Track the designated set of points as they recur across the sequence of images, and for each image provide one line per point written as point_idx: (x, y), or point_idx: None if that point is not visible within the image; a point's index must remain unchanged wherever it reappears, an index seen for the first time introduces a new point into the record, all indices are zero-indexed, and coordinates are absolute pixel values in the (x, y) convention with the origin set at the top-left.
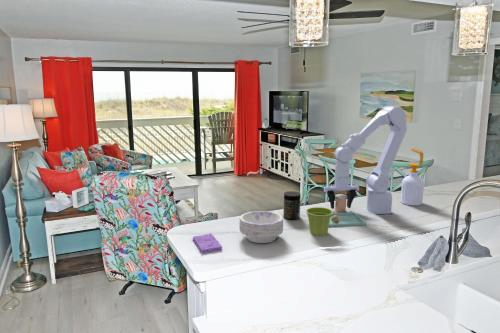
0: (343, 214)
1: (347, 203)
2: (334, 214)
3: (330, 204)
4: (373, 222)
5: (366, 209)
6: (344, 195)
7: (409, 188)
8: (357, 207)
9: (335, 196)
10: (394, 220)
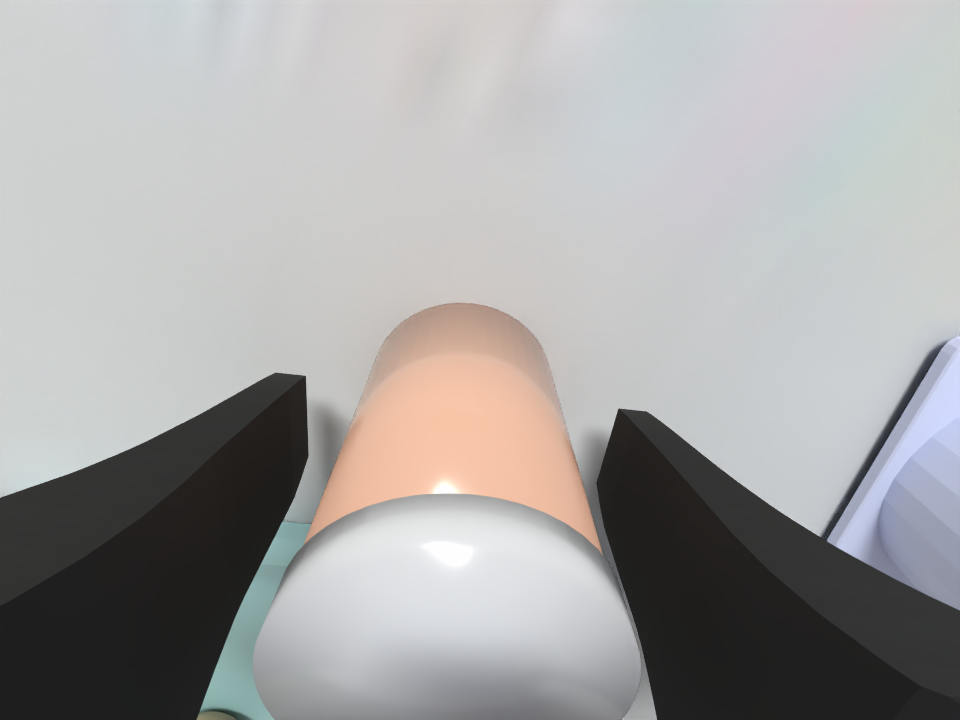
0: None
1: (637, 463)
2: (272, 568)
3: (236, 401)
4: (646, 716)
5: (918, 444)
6: (574, 687)
7: None
8: (930, 230)
9: (263, 629)
10: None
